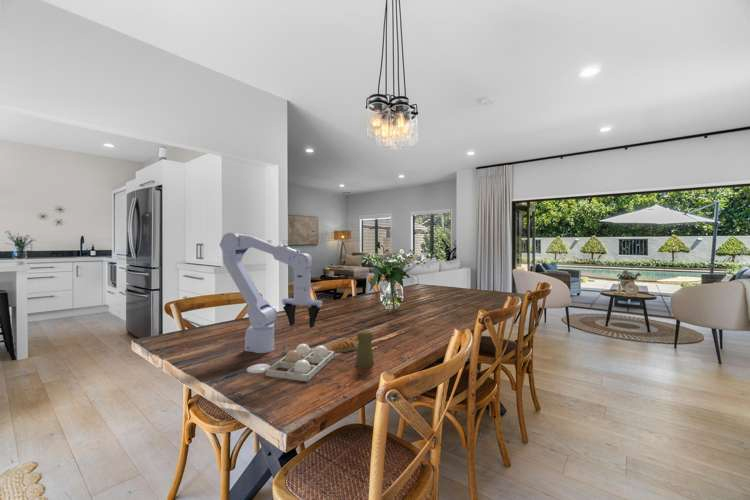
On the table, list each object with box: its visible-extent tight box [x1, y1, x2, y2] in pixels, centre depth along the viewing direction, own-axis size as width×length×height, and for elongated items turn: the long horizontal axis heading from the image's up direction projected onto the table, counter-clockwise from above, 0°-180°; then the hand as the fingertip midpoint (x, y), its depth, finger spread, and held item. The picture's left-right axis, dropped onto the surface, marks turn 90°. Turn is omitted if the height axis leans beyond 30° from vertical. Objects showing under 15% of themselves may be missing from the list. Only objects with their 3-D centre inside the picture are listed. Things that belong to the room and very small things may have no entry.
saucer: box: [246, 363, 271, 374], centre depth 98 cm, size 7×7×1 cm
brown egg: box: [284, 349, 301, 363], centre depth 102 cm, size 5×5×5 cm
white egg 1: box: [295, 343, 311, 356], centre depth 108 cm, size 5×5×5 cm
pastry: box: [331, 338, 358, 354], centre depth 118 cm, size 9×7×4 cm
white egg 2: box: [294, 359, 311, 374], centre depth 94 cm, size 5×5×5 cm
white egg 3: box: [313, 345, 329, 358], centre depth 107 cm, size 5×5×5 cm
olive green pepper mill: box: [355, 329, 375, 368], centre depth 104 cm, size 6×6×11 cm
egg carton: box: [264, 348, 336, 382], centre depth 101 cm, size 14×20×2 cm
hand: (301, 326), depth 113 cm, fingers open, 7 cm apart
